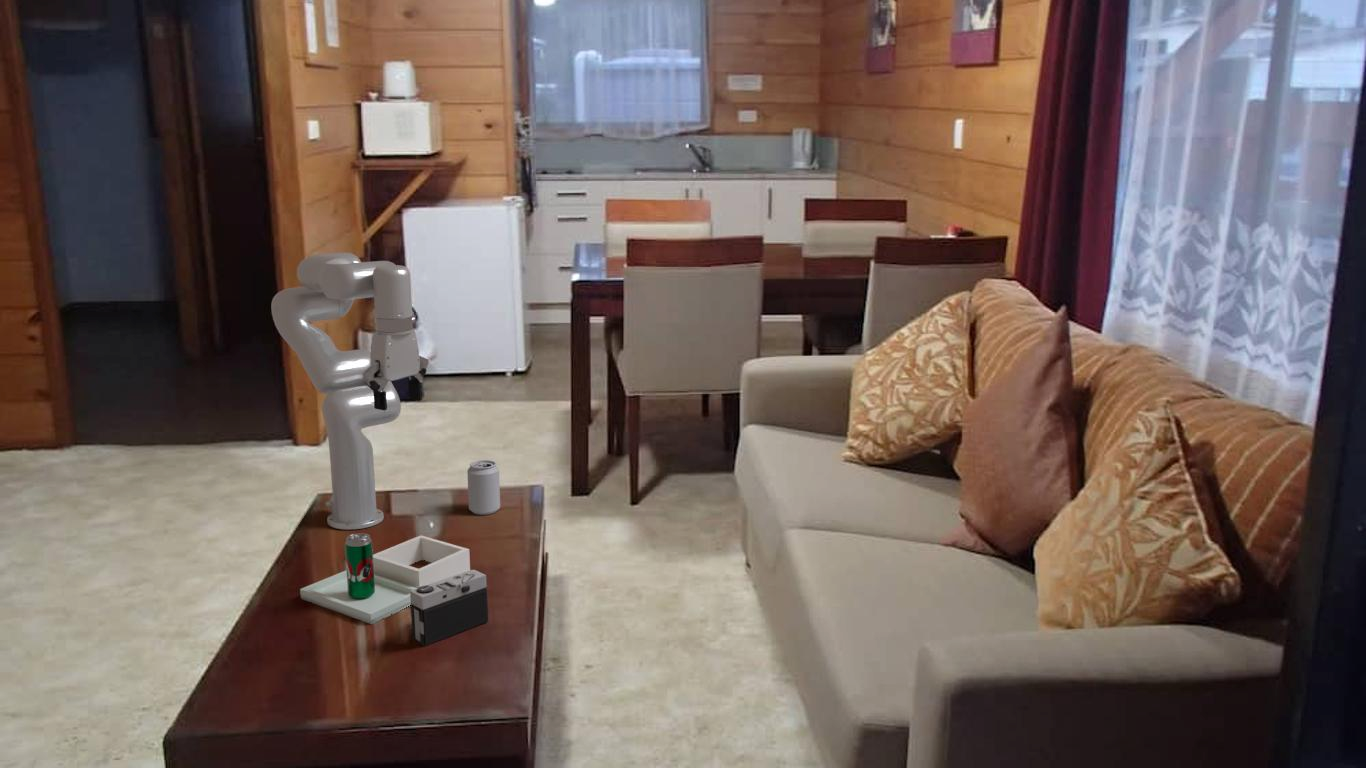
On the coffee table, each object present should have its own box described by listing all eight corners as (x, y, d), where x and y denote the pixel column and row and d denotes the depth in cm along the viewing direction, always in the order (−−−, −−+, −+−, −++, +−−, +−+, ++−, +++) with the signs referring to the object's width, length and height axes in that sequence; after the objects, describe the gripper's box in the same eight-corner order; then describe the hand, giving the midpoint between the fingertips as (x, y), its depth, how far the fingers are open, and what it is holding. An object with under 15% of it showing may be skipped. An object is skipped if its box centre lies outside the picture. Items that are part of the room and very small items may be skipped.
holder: (371, 579, 218) (369, 556, 217) (422, 557, 230) (420, 535, 228) (420, 595, 211) (418, 571, 210) (470, 571, 222) (469, 549, 221)
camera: (464, 609, 205) (462, 560, 203) (489, 623, 199) (488, 572, 197) (399, 633, 195) (396, 581, 193) (425, 647, 190) (422, 595, 187)
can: (497, 516, 254) (495, 468, 252) (465, 515, 255) (463, 467, 252) (503, 505, 262) (501, 458, 259) (472, 505, 262) (470, 458, 259)
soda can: (379, 590, 211) (375, 532, 208) (369, 601, 206) (365, 542, 203) (354, 588, 212) (350, 531, 209) (343, 599, 207) (339, 541, 204)
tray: (300, 598, 209) (300, 589, 208) (353, 576, 219) (353, 567, 219) (371, 624, 198) (370, 614, 198) (423, 599, 209) (422, 590, 208)
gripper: (412, 317, 233) (416, 394, 237) (349, 329, 219) (354, 410, 222) (437, 321, 229) (440, 399, 233) (374, 333, 215) (379, 415, 218)
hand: (398, 404), depth 228 cm, fingers open, 9 cm apart
